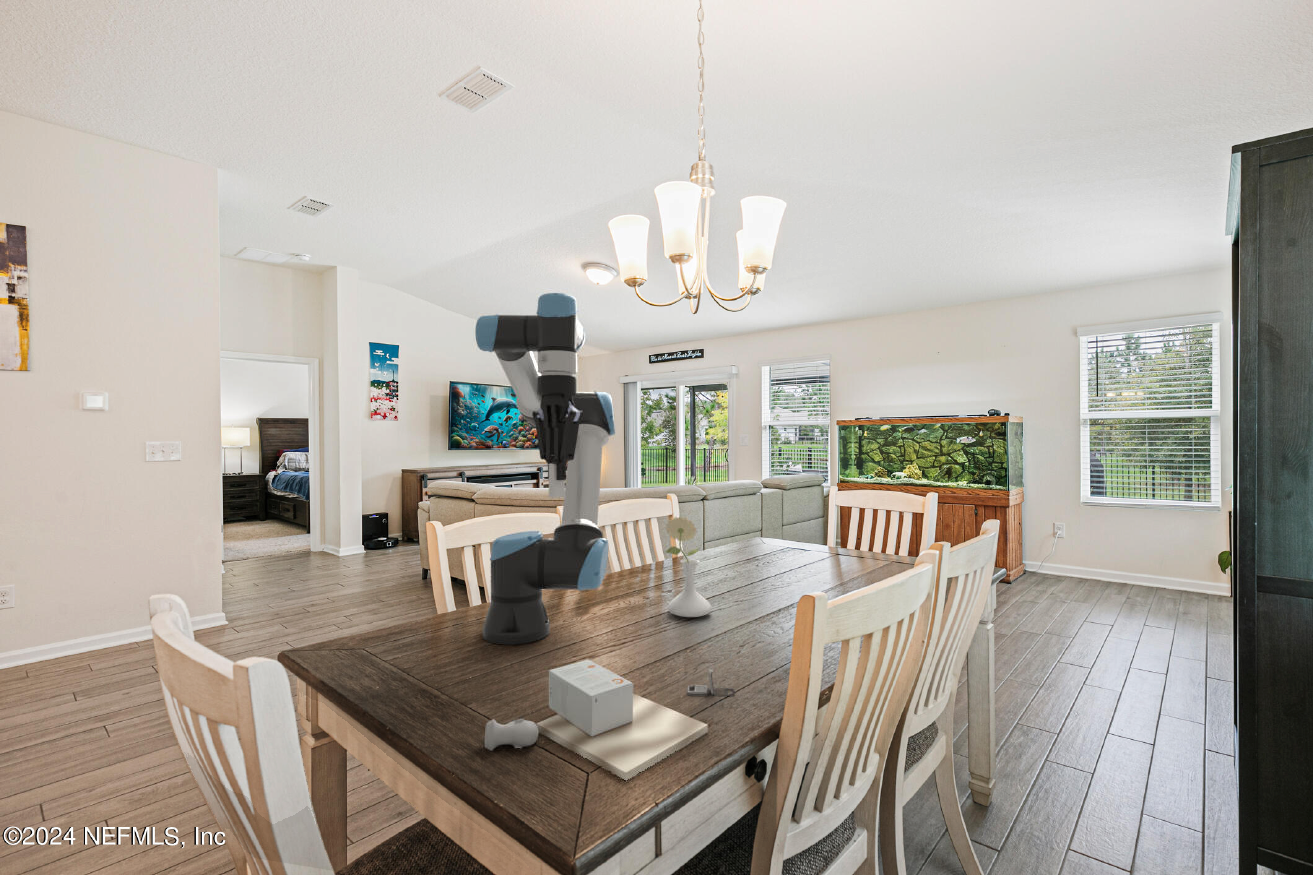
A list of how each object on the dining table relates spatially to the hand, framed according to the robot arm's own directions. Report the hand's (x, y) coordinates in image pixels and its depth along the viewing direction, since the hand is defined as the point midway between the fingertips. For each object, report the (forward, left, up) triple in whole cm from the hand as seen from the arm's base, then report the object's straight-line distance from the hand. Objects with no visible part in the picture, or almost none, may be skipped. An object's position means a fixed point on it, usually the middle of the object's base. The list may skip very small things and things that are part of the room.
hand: (556, 496), depth 116 cm
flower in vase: (-6, +47, -35) cm, 59 cm away
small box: (+13, -7, -30) cm, 34 cm away
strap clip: (+27, +14, -35) cm, 46 cm away
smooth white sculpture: (+16, -21, -35) cm, 44 cm away
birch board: (+25, -7, -34) cm, 43 cm away
